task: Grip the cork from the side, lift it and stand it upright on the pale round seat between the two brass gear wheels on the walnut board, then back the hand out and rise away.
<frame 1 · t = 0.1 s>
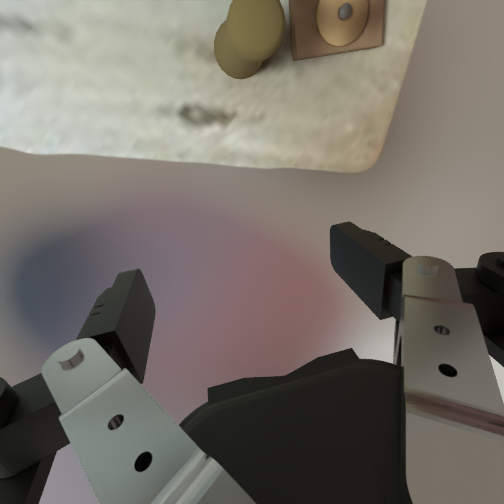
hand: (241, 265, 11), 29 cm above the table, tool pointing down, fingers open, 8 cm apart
cork: (239, 49, 32), on the table
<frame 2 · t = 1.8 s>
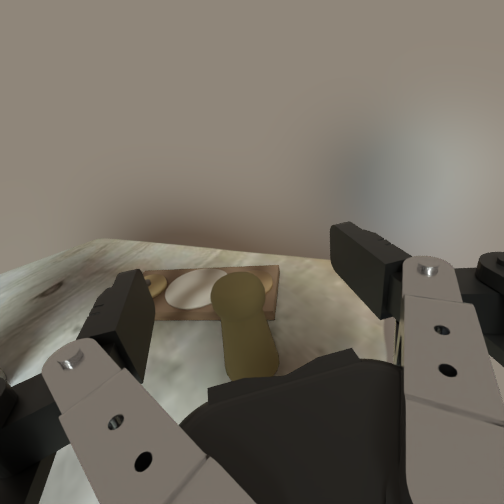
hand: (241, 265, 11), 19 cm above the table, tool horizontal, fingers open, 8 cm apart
cork: (252, 362, 30), on the table
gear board: (200, 295, 42), on the table
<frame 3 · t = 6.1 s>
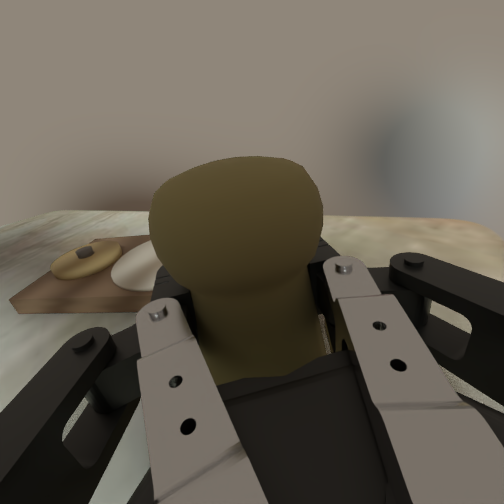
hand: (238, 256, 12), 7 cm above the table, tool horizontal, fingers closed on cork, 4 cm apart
cork: (271, 404, 13), on the table, touching gripper
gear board: (175, 271, 25), on the table
when the fingers open (8 cm above the table, at t = 10.9 s): cork stays where it is, resting on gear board.
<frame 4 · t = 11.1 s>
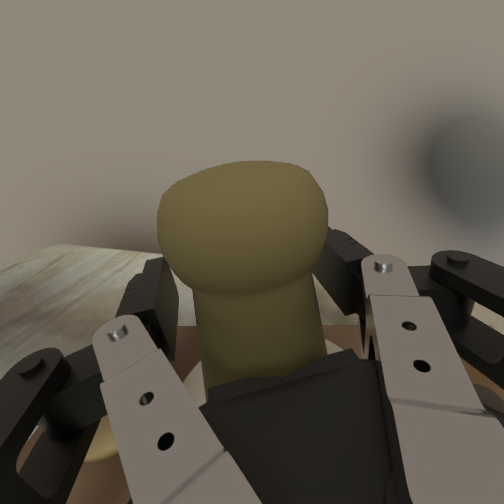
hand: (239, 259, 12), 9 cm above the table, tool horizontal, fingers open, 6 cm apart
cork: (272, 408, 13), point 2 cm above the table, touching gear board
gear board: (275, 426, 14), on the table
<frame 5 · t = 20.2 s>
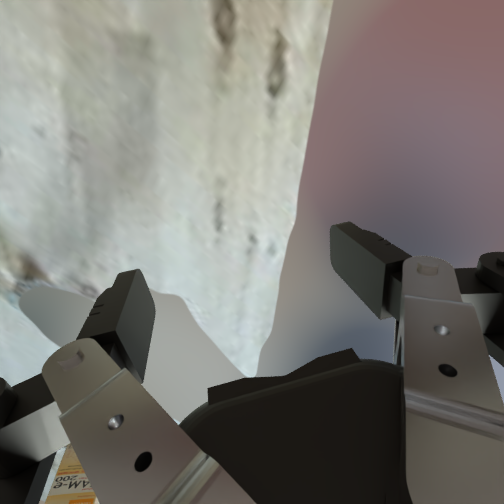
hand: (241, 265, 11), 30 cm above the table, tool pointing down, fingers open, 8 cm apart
supplement box: (91, 441, 59), on the table
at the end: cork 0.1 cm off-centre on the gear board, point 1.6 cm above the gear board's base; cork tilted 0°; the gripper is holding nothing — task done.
